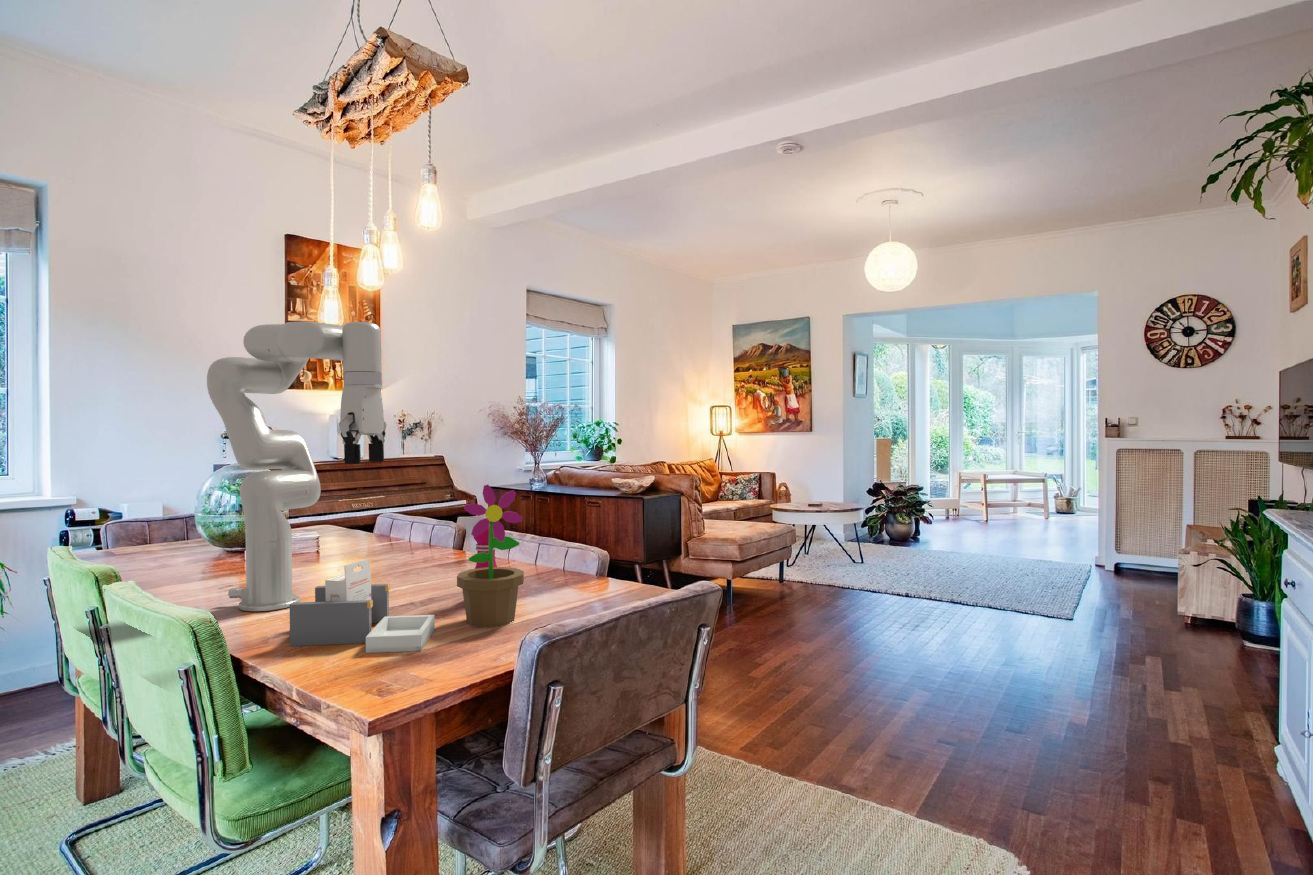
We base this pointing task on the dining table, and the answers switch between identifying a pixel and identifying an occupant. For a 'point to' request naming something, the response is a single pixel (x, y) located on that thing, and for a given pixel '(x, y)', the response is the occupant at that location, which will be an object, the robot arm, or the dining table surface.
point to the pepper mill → (484, 548)
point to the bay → (337, 618)
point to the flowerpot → (491, 567)
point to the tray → (400, 634)
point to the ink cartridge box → (350, 584)
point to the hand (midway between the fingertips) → (364, 462)
